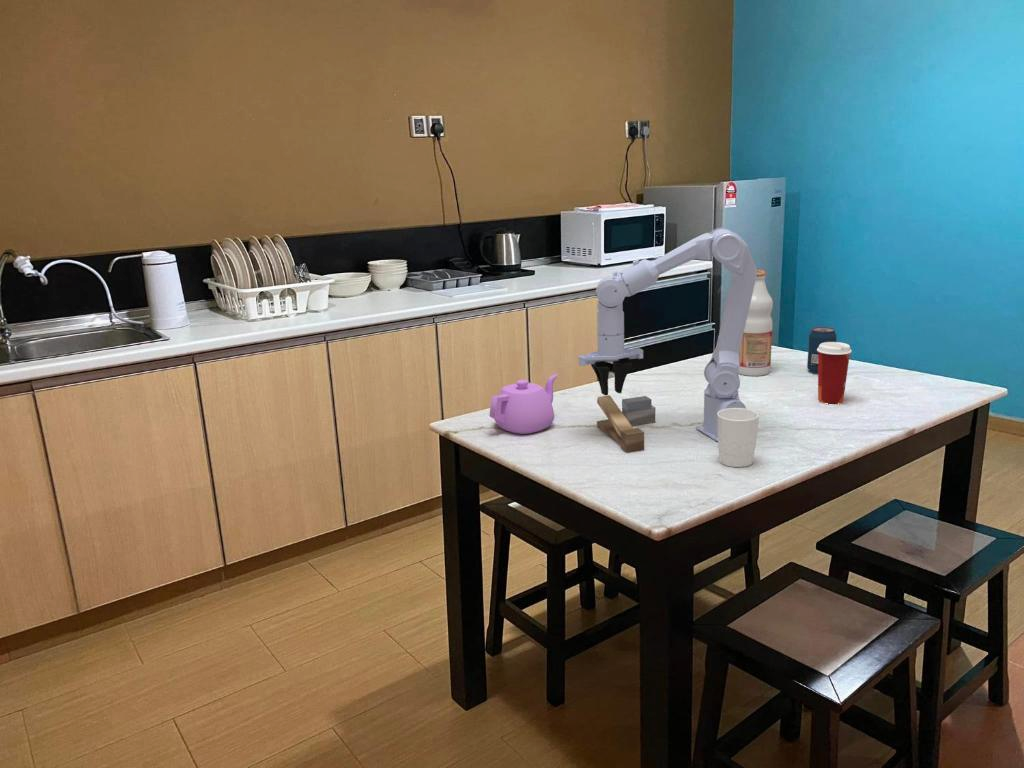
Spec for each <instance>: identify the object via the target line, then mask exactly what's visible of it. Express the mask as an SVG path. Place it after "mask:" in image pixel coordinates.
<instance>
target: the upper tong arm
mask: <svg viewBox="0 0 1024 768" xmlns="http://www.w3.org/2000/svg"><path fill="white" fill-rule="evenodd" d="M596 401H597V402H596V403H597V405H598V406H599V407H600V409H601V410H602V412H603V414H604V416H606V418H607V419H608V420H609V421H610V422H611V424H612V425H613V427H614V428H615V430H616V431H617V433H618V434H619V436H620V437H621V430H627V429H633V428H634V426H631V425H630V423H629V422H628V420H627V419H626V417H625V416H624V415H623V413H622V409H621V408H620V407H619V406H618V405H617V403H616V402H615V400H614V399H613V398H612V396H611V395H609V394H608V395H601V396H597V400H596Z"/></svg>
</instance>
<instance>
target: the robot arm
mask: <svg viewBox="0 0 1024 768" xmlns="http://www.w3.org/2000/svg"><path fill="white" fill-rule="evenodd" d="M711 256H713V258H714V259H715V260H717V261H718V262H719V263H721V264H722V265H723V267H724V268H725V270H726V271H728V273H729V275H730V277H731V278H730V280H729V281H730V282H729V287H728V290H727V291H728V292H727V295H726V299H725V304H724V310H723V314H722V318H721V322H720V323H721V324H720V328H719V333H718V336H717V341H716V346H715V349H714V350H713V352H712V353H711V354H712V355H711V358H710V360H709V362H708V363H707V364H706V365H705V368H704V369H703V374H704V379H705V380H706V381H707V383H708V384H707V385H706V387H705V389H704V392H703V393H704V394H703V399H704V400H703V425H702V424H701V425H696V426H695V429H696V430H698V431H700V432H702V433H703V434H705V435H706V436H707V437H709V438H710V439H712V440H714V441H716V442H718V429H717V413H718V411H720V410H723V409H727V408H744V409H747V407H746V405H745V403H743V401H741V399H740V397H739V389H740V387H741V380H740V379H741V378H740V376H739V375H740V374H739V373H738V370H739V351H740V347H741V342H742V338H743V334H744V329H745V325H746V320H747V316H748V312H749V307H750V303H751V298H752V294H753V290H754V285H755V281H756V276H757V270H758V269H757V267H756V264H755V262H754V261H755V260H754V259H753V257H752V253H751V252H750V249H749V245H748V244H747V242H745V241H744V239H743V237H741V236H740V235H739V234H737V233H735V232H734V231H732V230H731V229H728V228H727V227H717V228H714V229H713V230H712V231H711V232H705V233H703V234H701V235H699V236H697V237H694V238H691V239H690V240H689V241H687V242H685V243H683V244H682V245H680V246H678V247H676V248H674V249H673V250H670V251H669V252H667V253H665V254H664V255H662V256H659V257H658V258H656V259H654V260H648V259H645V258H643V259H641V260H639V259H638V258H637V259H635V260H634V261H632V264H631V265H630V266H627V267H626V268H624V269H622V270H619V271H617V270H615V271H613V272H612V276H605V277H604V278H601V280H600V281H599V282H598V283H597V286H596V289H595V293H596V298H597V300H598V303H597V312H596V321H597V322H596V323H597V324H596V326H597V327H596V329H597V330H596V331H597V332H596V333H597V351H595V352H591V353H586V354H582V355H578V357H577V358H578V365H579V366H581V367H586V366H587V365H590V366H591V368H592V369H593V371H594V373H595V376H596V379H597V380H598V384H599V388H600V392H601V394H602V396H608V395H609V377H610V375H609V374H610V370H611V368H610V367H609V366H608V365H607V363H611V362H612V365H613V374H614V391H615V392H616V393H617V394H622V393H623V392H622V391H623V387H624V383H625V381H626V377H627V376H628V373H629V372H630V370H631V368H632V366H633V365H632V364H633V363H632V361H631V360H633V359H634V360H635V359H637V360H640V359H641V360H642V359H644V350H643V348H639V347H637V348H636V347H635V348H625V312H624V311H623V310H624V309H623V308H624V307H623V305H624V304H623V302H624V300H625V298H626V297H627V298H628V297H631V296H634V295H636V294H637V293H641V292H642V291H643V290H645V289H648V288H650V287H652V286H654V285H657V282H658V279H659V276H661V275H662V274H665V273H666V272H669V271H671V270H674V269H676V268H677V267H680V266H682V265H684V264H686V263H689V262H691V261H693V260H702V261H703V260H704V261H711Z"/></svg>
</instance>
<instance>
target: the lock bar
mask: <svg viewBox="0 0 1024 768" xmlns="http://www.w3.org/2000/svg"><path fill="white" fill-rule="evenodd" d="M652 403H653V402H652V398H650V397H648V396H647V395H643V396H635V397H629V398H622V399H621V408H623V409H625V410H626V411H633V410H640V409H646V408H651V405H652V406H653V404H652Z"/></svg>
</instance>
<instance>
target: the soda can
mask: <svg viewBox="0 0 1024 768" xmlns="http://www.w3.org/2000/svg"><path fill="white" fill-rule="evenodd" d="M825 342H837V334H836V331H835V328H833V327H830V326H829V327H828V326H816V327H812V329H811V331H810V332H809V335H808V348H807V364H806V365H807V366H806V367H807V370H808V372H809V373H810V374H812V373H813V375H817V374H818V351H817V348H818V347H819V345H820V344H821V343H825Z"/></svg>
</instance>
